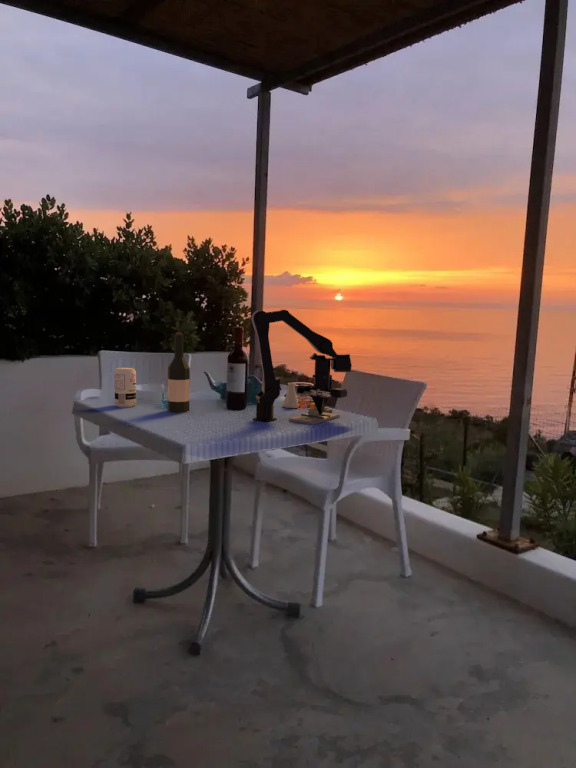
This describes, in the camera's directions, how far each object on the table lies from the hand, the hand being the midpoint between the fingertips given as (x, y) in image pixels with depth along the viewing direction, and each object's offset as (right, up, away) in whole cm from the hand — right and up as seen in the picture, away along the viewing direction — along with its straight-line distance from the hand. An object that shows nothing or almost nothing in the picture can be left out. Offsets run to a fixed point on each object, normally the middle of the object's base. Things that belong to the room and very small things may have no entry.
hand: (320, 413), depth 220 cm
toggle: (-2, -1, +2) cm, 3 cm away
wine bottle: (-54, 0, +9) cm, 55 cm away
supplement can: (-77, +2, +16) cm, 79 cm away
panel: (-2, -2, +1) cm, 3 cm away
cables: (+2, 0, +14) cm, 14 cm away
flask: (-11, +1, +26) cm, 28 cm away
